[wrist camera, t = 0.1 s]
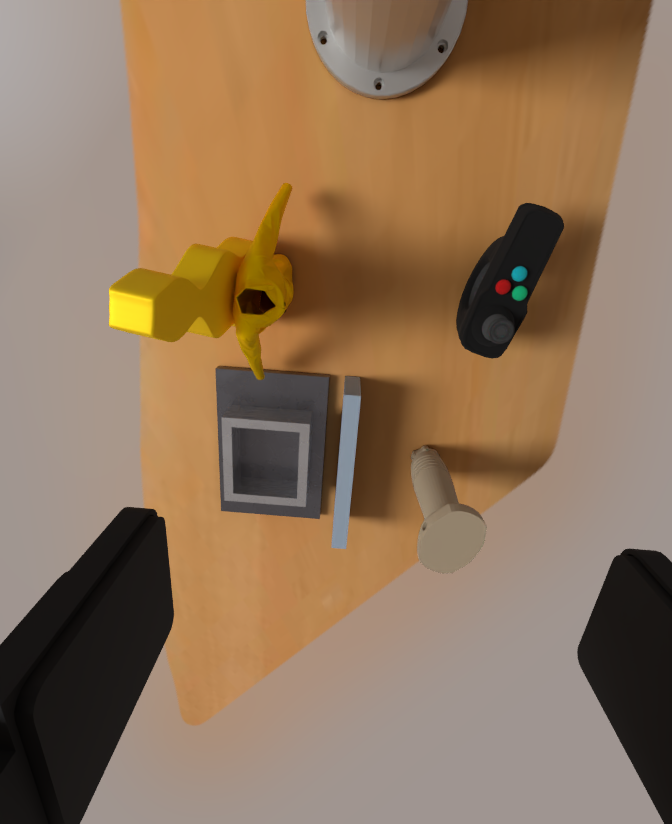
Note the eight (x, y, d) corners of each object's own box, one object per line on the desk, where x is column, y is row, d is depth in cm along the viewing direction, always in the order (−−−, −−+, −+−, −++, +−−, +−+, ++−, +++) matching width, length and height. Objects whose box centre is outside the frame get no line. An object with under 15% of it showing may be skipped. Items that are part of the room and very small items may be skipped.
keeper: (218, 365, 46) (204, 378, 42) (329, 374, 46) (327, 388, 41) (223, 506, 52) (212, 529, 48) (320, 513, 52) (317, 537, 48)
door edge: (345, 375, 46) (344, 394, 40) (360, 376, 46) (361, 396, 40) (333, 515, 52) (331, 547, 47) (346, 516, 52) (346, 548, 47)
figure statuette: (285, 373, 46) (230, 481, 25) (212, 358, 45) (98, 456, 25) (315, 193, 39) (273, 142, 19) (231, 173, 39) (95, 101, 18)
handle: (456, 442, 48) (498, 525, 34) (428, 486, 50) (457, 580, 36) (419, 425, 47) (446, 502, 34) (392, 470, 50) (407, 560, 36)
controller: (438, 330, 43) (461, 354, 34) (494, 203, 39) (539, 192, 30) (476, 344, 44) (509, 372, 35) (537, 220, 39) (593, 215, 30)
